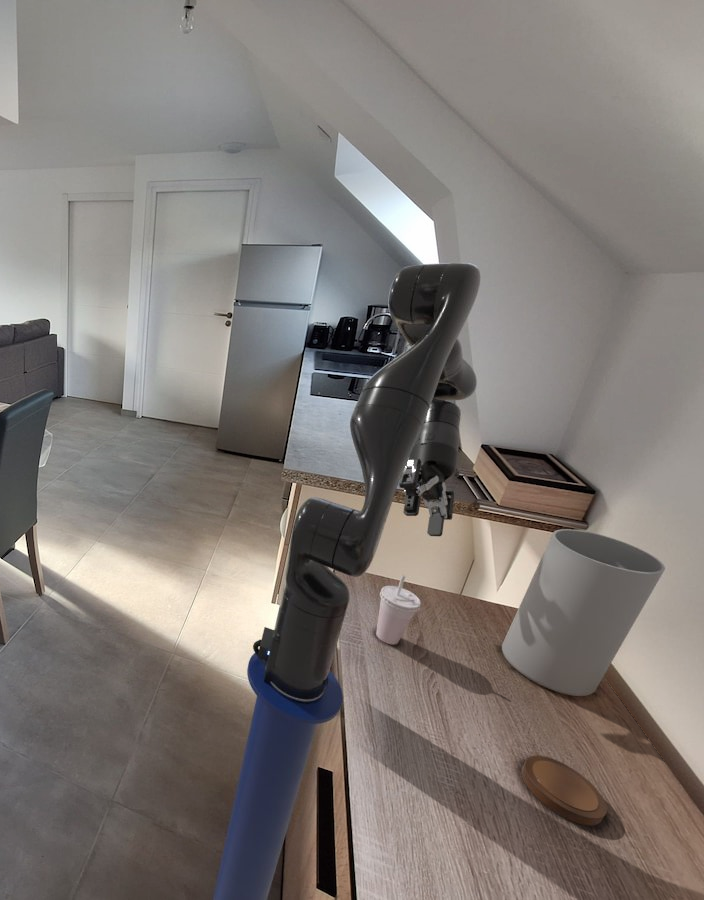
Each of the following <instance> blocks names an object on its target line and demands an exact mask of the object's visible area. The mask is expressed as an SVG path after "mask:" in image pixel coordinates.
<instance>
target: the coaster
mask: <svg viewBox="0 0 704 900" xmlns="http://www.w3.org/2000/svg"><path fill="white" fill-rule="evenodd" d="M520 773H521V778H522V780H523V782H524V784H525V786H526V787H527V788H528V790H529V791H530V792H531V793H532V795H533V796H534V797H535V798H536V799H537V800H539V801H540V803H542V804H543V805H544V806H545V807H547V808H548V809H550V810H551V811H552V812H554V813H555V814H557V815H558V816H560V817H562V818H564V819H566V820H568V821H570V822H572V823H575V824H579V825H581V826H582V825H583V826H588V827H591V826H597V825H599V824H600V823H601V822H602V820H603V819H604V817H605V816H606V815H607V812H608V806H607V803H606V801H605V799H604V797H603V795H602V794H601V792H600V791H599V790H598V789H597V787H595V785H594V784H593V783H592V782H591V781H589V779H587V778H586V777H585V776H583V775H582V774H581V773H580V772H578V771H577V770H575V769H574V768H572V767H570V766H569V765H567V764H565V763H563V762H561V761H559V760H557V759H555V758H552V757H549V756H544V755H531V756H528V757H527V758H526V759H525V761H524V763H523V764H522V767H521V769H520Z"/></svg>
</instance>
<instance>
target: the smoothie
mask: <svg viewBox="0 0 704 900" xmlns="http://www.w3.org/2000/svg"><path fill="white" fill-rule="evenodd" d="M405 579H406V575H405V574H402V575H401V577H400V581H399V583H398V586H396V585H386V586H385V585H384V586H383V587H382V588H381V590H380V592H379V597H380V603H379V611H378V618H377V625H376V632H375V635H376V637H377V638H378V639H379V640H380V641H381V642H383V643H385V644H388V645H393V646H395V645H398V643H399V642H400V640H401V638H402V637H403V635H404V633H405V631H406V629H407V628H408V626H409V624H410V622H411V621H412V618H413V617H414V616H415V614H416V612H418V611H419V610H420V609H421V604H422V602H421V600H420V599H419V597H418V596H417V595H416V594H415V593H413V592H412V591H410V590H408V589H406V588H403V585H404V582H405Z"/></svg>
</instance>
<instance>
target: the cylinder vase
mask: <svg viewBox="0 0 704 900" xmlns="http://www.w3.org/2000/svg"><path fill="white" fill-rule="evenodd" d="M535 569H536V570H535V572H534V574H533V576H532V578H531V580H530V583H529V585H528V587H527V589H526V591H525V593H524V596H523V598H522V600H521V602H520V604H519V606H518V608H517V611H516V613H515V615H514V618H513V620H512V622H511V624H510V627H509V629H508V631H507V633H506V635H505V637H504V639H503V642H502V644H501V651H502V654H503V657H504V658H505V659H506V661H507V662H508V663H509V664H510V665H511V666H512V667H513V668H514V669H515V670H516V671H518V672H519V673H520V674H521V675H523V676H524V677H525V678H527V679H528V680H530V681H532V682H534V683H535V684H537V685H539V686H542V687H543V688H546V689H549V690H551V691H554V692H556V693H559V694H563V695H566V696H574V697H585V696H586V697H587V696H589V695H592V694H593V693H595V691H596V690H597V688H598V687H599V685H600V683H601V681H602V679H603V678H604V676H605V674H606V673H607V671H608V669H609V668H610V665H611V664H612V662H613V660H614V659H615V657H616V655H617V654H618V652H619V650H620V648H621V646H622V645H623V643H624V641H625V639H626V638H627V637H628V634H629V633H630V631H631V629H632V628H633V626H634V624H635V623H636V621H637V618H638V617H639V616H640V614H641V612H642V610H643V609H644V606H645V605H646V603H647V602H648V600H649V598H650V596H651V595H652V593H653V591H654V589H655V587H656V586H657V584H658V582H659V581H660V579H661V577H662V575H663V573H664V572H665V570H666V567H665V564H663V562H661V561H660V560H659V559H658V558H657V557H655V556H654V555H652V554H650V553H649V552H647V551H645V550H643V549H640V548H639V547H637V546H634V545H632V544H630V543H627V542H624V541H622V540H619V539H616V538H613V537H610V536H607V535H603V534H599V533H595V532H590V531H585V530H579V529H571V528H570V529H568V528H564V529H562V528H561V529H556V530H554V531H553V532H552V534H551V536H550V538H549V541H548V543H547V545H546V546H545V550H544V551H543V554H542V556H541V558H540V561H539V563H538V564H537V567H536V568H535Z"/></svg>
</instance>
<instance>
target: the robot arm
mask: <svg viewBox="0 0 704 900" xmlns="http://www.w3.org/2000/svg"><path fill="white" fill-rule="evenodd" d="M480 285H481V272H480V269H479V268H478V266H477V265H475V264H473V263H469V262H441V263H422V264H415V265H408V266H405V267H403V268H401V269H400V270H399V271H398V272H397V273H396V274H395V276H394V278H393V280H392V282H391V285H390V287H389V293H388V300H387V302H388V304H387V305H388V311H389V316H390V317H391V320H392V322H393V323H394V325H395V327H396V328H397V330H398V331H399V332H400V334H401V335H402V337H403V338H404V339H405V341H406V342H407V344H408V345H409V346H410V347H409V348H407V350H405V351H404V352H402V353H401V354H399V355H398V356H397V357H395V358H394V359H393V360H391V361H389V362H388V363H387V364H386V365H384V366H383V367H381V368H380V369H379V370H377V372H375V373H374V374H373V375H372V376H371V377H370V378H369V379H368V380H367V381H366V382H365V384H364V385H363V388H362V390H361V392H360V394H359V397H358V400H357V402H356V404H355V407H354V409H353V411H352V414H351V417H350V421H349V429H350V435H351V439H352V444H353V446H354V449H355V451H356V455H357V458H358V461H359V464H360V468H361V472H362V477H363V483H364V484H363V485H364V502H363V506H362V508H361V509H360V510H358V509H354V508H353V507H352V508H351V507H349V506H346V505H342V504H339V503H336V502H333V501H330V500H327V499H324V498H320V497H316V496H315V497H310V498H307V499H306V500H305V501H304V502H303V503H302V504H301V506H300V507H299V509H298V511H297V513H296V516H295V519H294V522H293V525H292V532H291V536H290V543H289V552H288V553H289V554H288V558H287V563H286V569H285V574H284V584H283V587H282V588H283V589H282V593H281V597H280V604H279V608H278V611H277V616H276V619H275V624H274V625H275V626H274V629H272V628H269V627H266V626H264V628H263V632H262V636H261V639H257V640H256V641H255V642H254V643H253V644H252V649H253V652H254V653H256V655H257V656H258V658H260V659H262V660H265V661H267V663H266V667H265V674H264V679H263V681H264V682H265V683H268V684H270V685H271V686H272V688H273V689H274V690H275V691H276V692H278V693H279V694H280V695H282V696H283V697H285V698H287V699H289V700H292V701H294V702H298V703H314V702H316V701H318V700H320V699H321V697H322V696H323V694H324V690H325V685H326V681H327V685H328V675H329V670H330V671H331V666H332V664H333V659H334V656H335V653H336V650H337V649H336V648H337V645H338V642H339V638H340V635H341V631H342V628H343V625H344V621H345V617H346V614H347V610H348V607H349V604H350V599H351V595H350V590H349V587H348V586H347V584H346V582H345V581H344V580H343V579H341V577H340V576H338V575H337V574H336V573H335V572H334V571H337V572H339V573H342V574H344V575H347V576H348V577H353V578H359V577H362V576H363V575H365V574H366V572H367V570H368V569H369V568H370V566H371V565H372V562H373V560H374V558H375V556H376V553H377V550H378V547H379V545H380V541H381V538H382V535H383V532H384V529H385V525H386V523H387V519H388V517H389V513H390V511H391V507H392V504H393V501H394V499H395V498H394V497H395V494H396V492H397V488H398V485H399V488H400V489H403V494H404V496H405V499H404V506H403V515H405V516H406V517H416V516H418V515H419V513H420V507H421V500H422V499H423V503H424V506H425V508H427V509H428V513H429V517H428V525H427V531H426V533H427V535H428V536H430V537H441V536H443V530H444V525H445V520H446V521H451V520H452V519H453V514H454V513H453V512H454V502H455V492H454V491H453V490H447V486H446V481H447V480H448V479H449V478H451V477H453V476H454V475H455V473H456V470H457V464H458V463H457V462H458V453H459V445H460V436H459V435H460V434H459V431H460V424H461V418H462V414H461V413H462V412H461V408H460V407H459V406H458V405H457V404H456V403H453V402H451V401H462V400H465V399H468V398H470V397H471V396H472V395H473V394H474V393H475V391H476V389H477V385H478V384H477V383H478V380H477V376H476V373H475V371H474V369H473V368H472V366H471V365H470V364H469V363H468V362H467V361H466V360H465V359H464V358H463V349H462V345H461V342H460V340H459V339H458V338H459V336H460V333H461V331H462V329H463V327H464V326H465V323H466V322H467V320H468V317H469V315H470V313H471V311H472V308H473V307H474V304H475V301H476V299H477V296H478V293H479V289H480ZM409 478H410V480H408V479H409ZM332 570H334V571H332ZM326 688H327V686H326Z"/></svg>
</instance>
